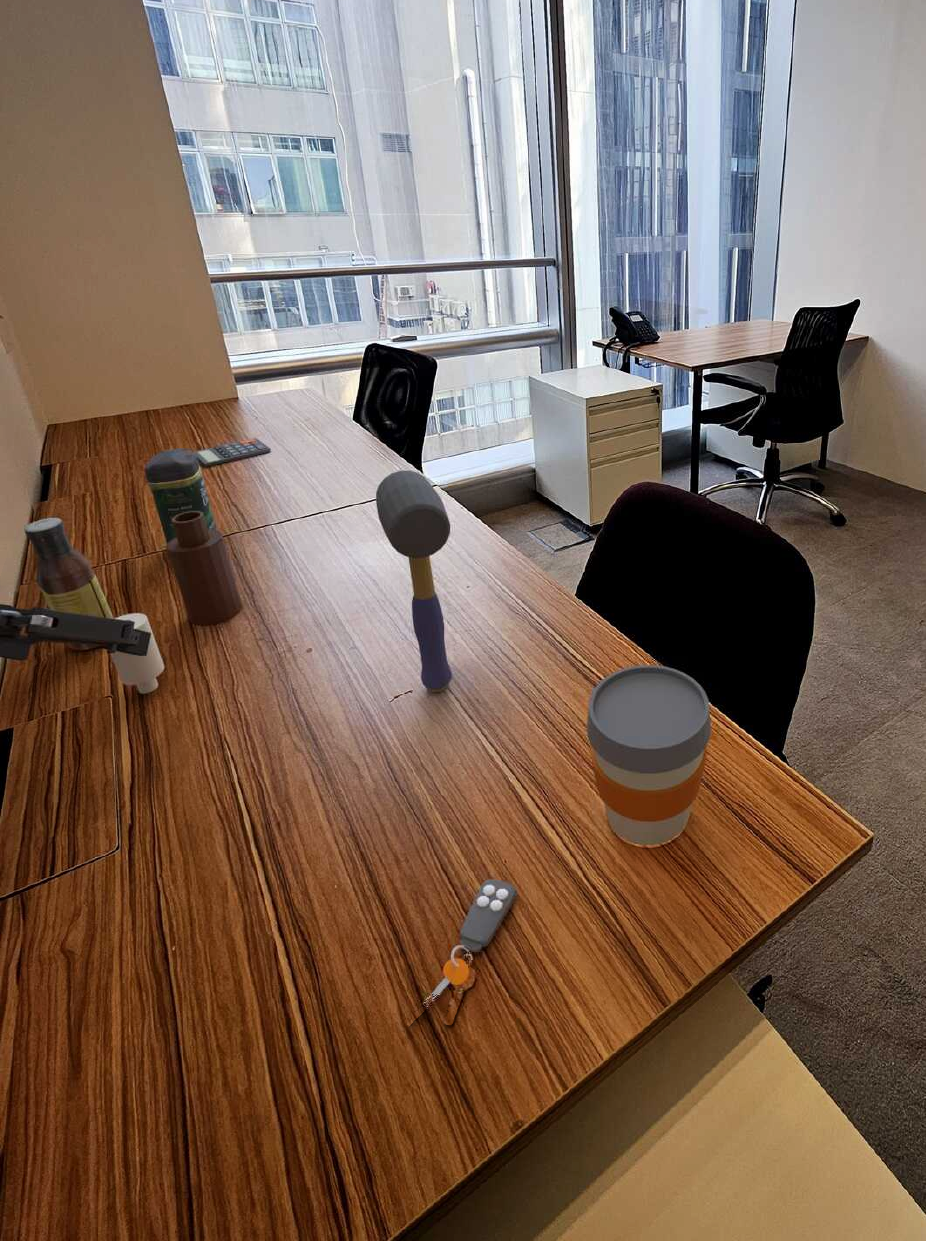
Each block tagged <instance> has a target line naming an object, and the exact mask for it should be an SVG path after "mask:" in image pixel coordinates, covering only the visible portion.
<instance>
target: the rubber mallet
mask: <svg viewBox="0 0 926 1241" xmlns="http://www.w3.org/2000/svg"><path fill="white" fill-rule="evenodd" d="M375 502H376V511H377V515H378V520H379V522H380V525H381V528H382V530H383V532H384V534H385V536H386V538H387V540H388V541H389V544H390V545H391V547H392V548H393V549H394V550H395V551H396V552H397V553H399V554H401V555H402V556H404V557H407V558H408V563H409V564H408V565H409V570H410V578H411V584H412V591H413V596H412V598H411V599H412V600H411V617H412V618H411V619H412V627H413V631H414V634H415V637H416V638H415V639H416V640H417V644H418V649H419V655H420V662H421V672H420V680H421V683H422V685H423V687H425V688H426V689H427V690H429V691H430V692H431V693H438V692H443V691H444V690H445V689H447V688H448V686H449V685H450V682H451V681H452V677H453V672H452V669H451V666H450V664H449V662H448V656H447V651H446V643H445V620H444V616H443V615H444V614H443V610H442V606H441V602H440V599H439V597H438V595H437V593H436V589H435V588H436V587H435V583H434V576H433V570H432V564H431V558H430V556H433V555H434V554H436V553H438V552H439V551H440V550H442V548H443V547H444V546H445V545H446V543H447V542H448V540H449V537H450V534H451V522H450V520H449V515H448V513H447V510H446V508H445V505H444V502H443V500H442V497H441V496H440V494H438V492H437V491H436V489H435V487H433V486H432V485H431V483H430V482H429V481H428V479H427V478H426V477H425V476H423V475H422V474H420V473H419V472H416V471H413V470H397V471H395V472H392V473H390V474H388V475H387V476H386V477H384V478H383V479H382V481H381V482H380V483H379V484H378V487H377V489H376V492H375Z"/></svg>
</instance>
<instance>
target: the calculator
mask: <svg viewBox="0 0 926 1241" xmlns="http://www.w3.org/2000/svg"><path fill="white" fill-rule="evenodd" d="M271 451H272V450H271V447H269V446H268V445H266V444H265V443H264V442H262V441H261V440H259V439H258V438H257V437H253V438H247V439H243V440H240V441H239V440H238V441H235V442H231V443H225V444H222V445H217V446H212V447H209V448H208V447H207V448H203V449H199V450H193V451H192V452H194V453H195V454H196V455H197V459H198V462H199V463H200V464H202V465H203V466H204V467H206V468H207V467H211V466H215V465H220V464H224V463H227V462H232V461H237V460H240V459H244V458H249V457H253V456H259V455H262V454H266V453H270V452H271Z"/></svg>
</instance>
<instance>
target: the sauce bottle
mask: <svg viewBox="0 0 926 1241" xmlns="http://www.w3.org/2000/svg"><path fill="white" fill-rule="evenodd" d="M65 528H66V527H65V525H64V523H63V521H62V519H61V518H58V517H48V518H42V519H39V520H36V521H33V522H31V523H29V524H27V525H26V526H25V527H24V532H25V535H26V538H27V539H28V540H30V542H31V544H32V547H33V549H34V550H35V555H36V557H37V558H36V561H37V564H36V567H37V568H36V569H37V570H36V584H37V586H38V588H39V590H40V592H41V594H42V596H43V599H44V601H45V603H46V605H47V607H48V609H51V610H56V611H60V612H68V613H75V614H82V615H90V616H97V617H104V618H112V619H115V618H114V616H113V613H112V610H111V608H110V606H109V604H108V601H107V599H106V596H105V594H104V592H103V590H102V587H101V585H100V583H99V582H100V581H99V580H98V578H97V575H96V573H95V571H94V570H93V568H92V566H91V563H90V561H89V559H88V558H87V556H85V555H84V554H82V552H80V551H78V550H76V549H75V548H73V547H72V543H71V542H70V540H69V539H68V536H67V534H66V532H65ZM66 645H67V646H68V647H69V649H71V650H74V651H88V650H92V649H97V648H99V647H100V646H97V645H83V644H70V643H66Z"/></svg>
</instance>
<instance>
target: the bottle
mask: <svg viewBox="0 0 926 1241" xmlns="http://www.w3.org/2000/svg"><path fill="white" fill-rule="evenodd" d="M172 524H173V527H174V530H175V534H176V538H174V539H172V540H171V541H170V542H169V543H166V546H165V549H166V552H167V555H168V558H169V562H170V565H171V567H172V571H173V573H174V576H175V579H176V583H177V586H178V589H179V592H180V595H181V599H182V601H183V604H184V608H185V610H186V613H187V617H188V618H189V621H190V622H191V624H193V625H195V626H211V625H217V624H220V623H223V622H226V621H227V620H230V619H232V618H234V617H235V616H236V615H238V614H239V613H240V611H242V608H243V605H242V598H241V596H240V592H239V589H238V585H237V580H236V578H235V574H234V571H233V567H232V563H231V561H230V557H229V554H228V550H227V546H226V542H225V540H224V536H223V533H222V532H221V531H219V530H218V531H216V530H208V529H207V525H206V522H205V518H204V515H203V512H200V511H189V512H185V513H181V514H179V515H176V516H175V517H173V518H172Z"/></svg>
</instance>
